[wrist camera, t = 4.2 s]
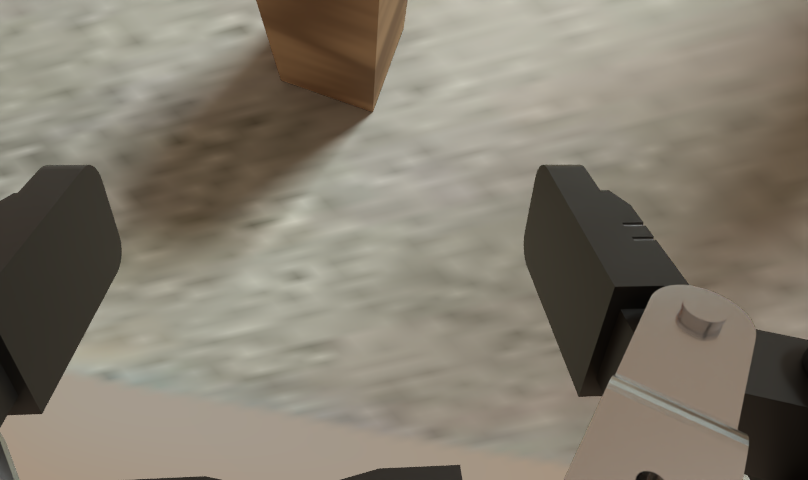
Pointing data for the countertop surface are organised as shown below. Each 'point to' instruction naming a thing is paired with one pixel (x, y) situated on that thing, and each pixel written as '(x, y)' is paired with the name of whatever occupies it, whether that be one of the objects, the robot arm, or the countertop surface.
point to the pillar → (335, 44)
